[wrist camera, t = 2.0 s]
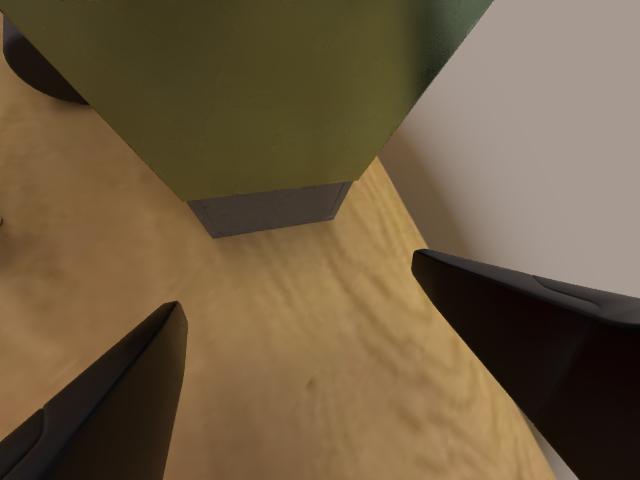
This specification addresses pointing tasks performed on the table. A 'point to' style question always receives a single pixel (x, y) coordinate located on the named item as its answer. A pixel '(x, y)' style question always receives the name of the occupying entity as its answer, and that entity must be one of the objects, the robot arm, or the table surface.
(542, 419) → the robot arm
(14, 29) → the end cap
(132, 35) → the lid
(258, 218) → the bin
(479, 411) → the table surface
